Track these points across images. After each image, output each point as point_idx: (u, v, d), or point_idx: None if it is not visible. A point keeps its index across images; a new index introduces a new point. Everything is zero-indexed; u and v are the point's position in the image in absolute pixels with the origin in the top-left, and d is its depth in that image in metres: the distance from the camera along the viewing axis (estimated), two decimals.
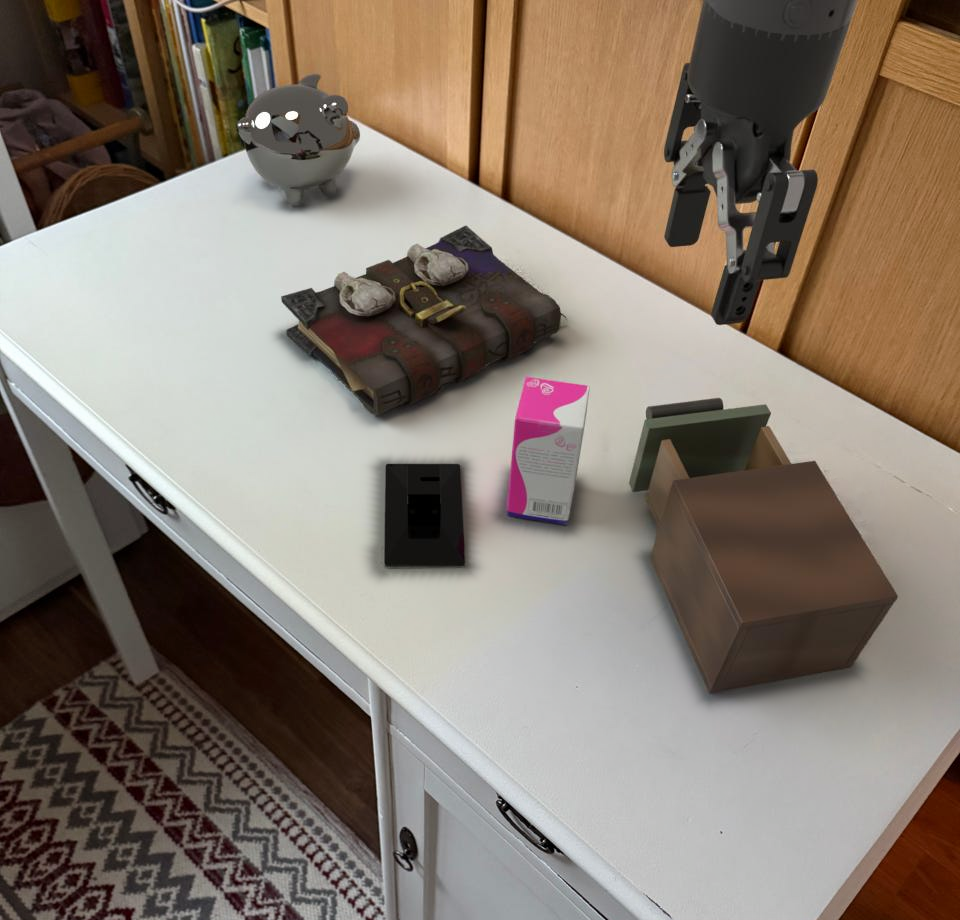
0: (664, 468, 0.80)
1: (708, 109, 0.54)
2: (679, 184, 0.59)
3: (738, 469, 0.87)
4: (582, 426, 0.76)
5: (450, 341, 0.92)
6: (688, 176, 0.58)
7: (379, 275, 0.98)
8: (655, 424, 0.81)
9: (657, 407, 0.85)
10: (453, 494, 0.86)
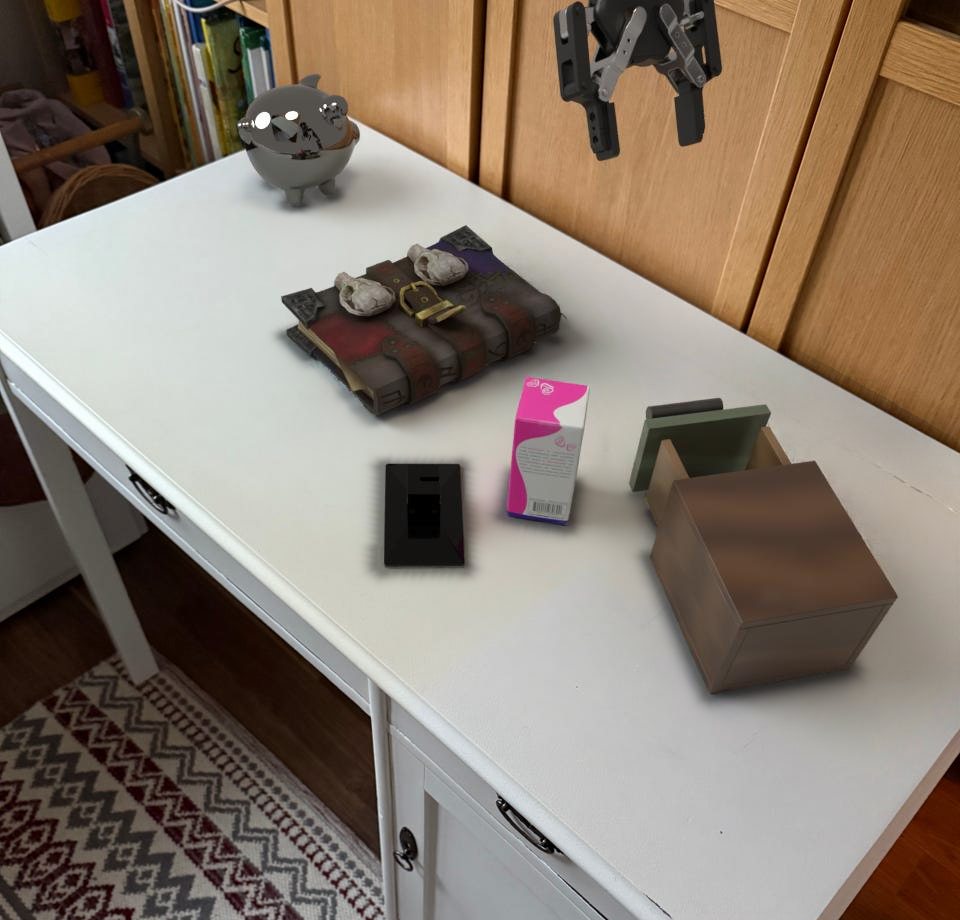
0: (664, 468, 0.80)
1: None
2: (676, 90, 0.76)
3: (738, 469, 0.87)
4: (582, 426, 0.76)
5: (450, 341, 0.92)
6: (669, 78, 0.75)
7: (379, 275, 0.98)
8: (655, 424, 0.81)
9: (657, 407, 0.85)
10: (453, 494, 0.86)
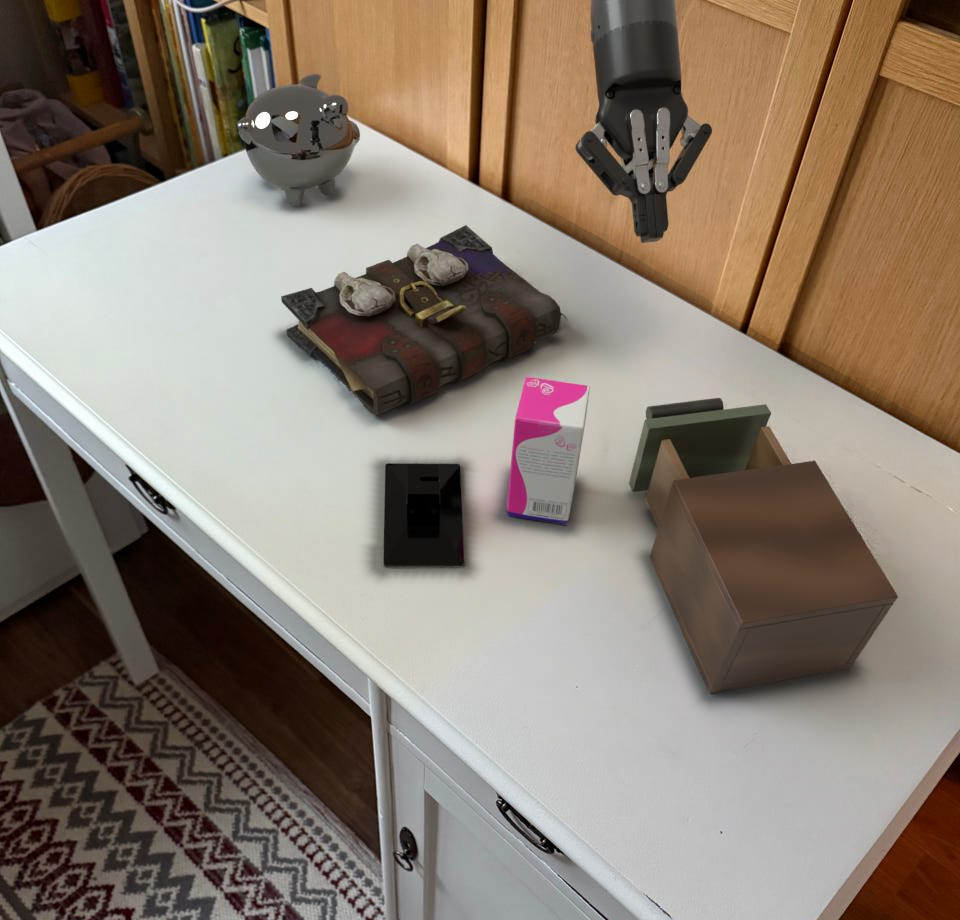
0: (664, 468, 0.80)
1: None
2: None
3: (738, 469, 0.87)
4: (582, 426, 0.76)
5: (450, 341, 0.92)
6: None
7: (379, 275, 0.98)
8: (655, 424, 0.81)
9: (657, 407, 0.85)
10: (453, 494, 0.86)
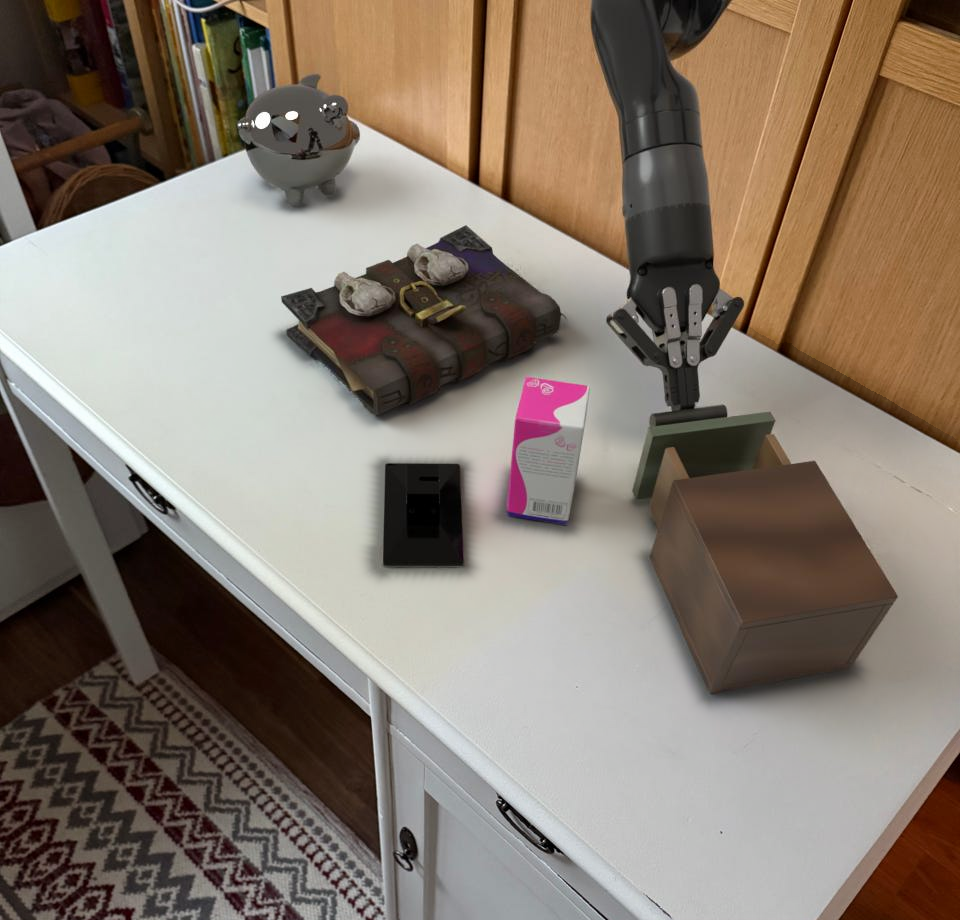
0: (668, 476, 0.80)
1: None
2: None
3: None
4: (582, 426, 0.76)
5: (450, 341, 0.92)
6: None
7: (379, 275, 0.98)
8: (659, 432, 0.80)
9: (661, 414, 0.85)
10: (452, 494, 0.86)
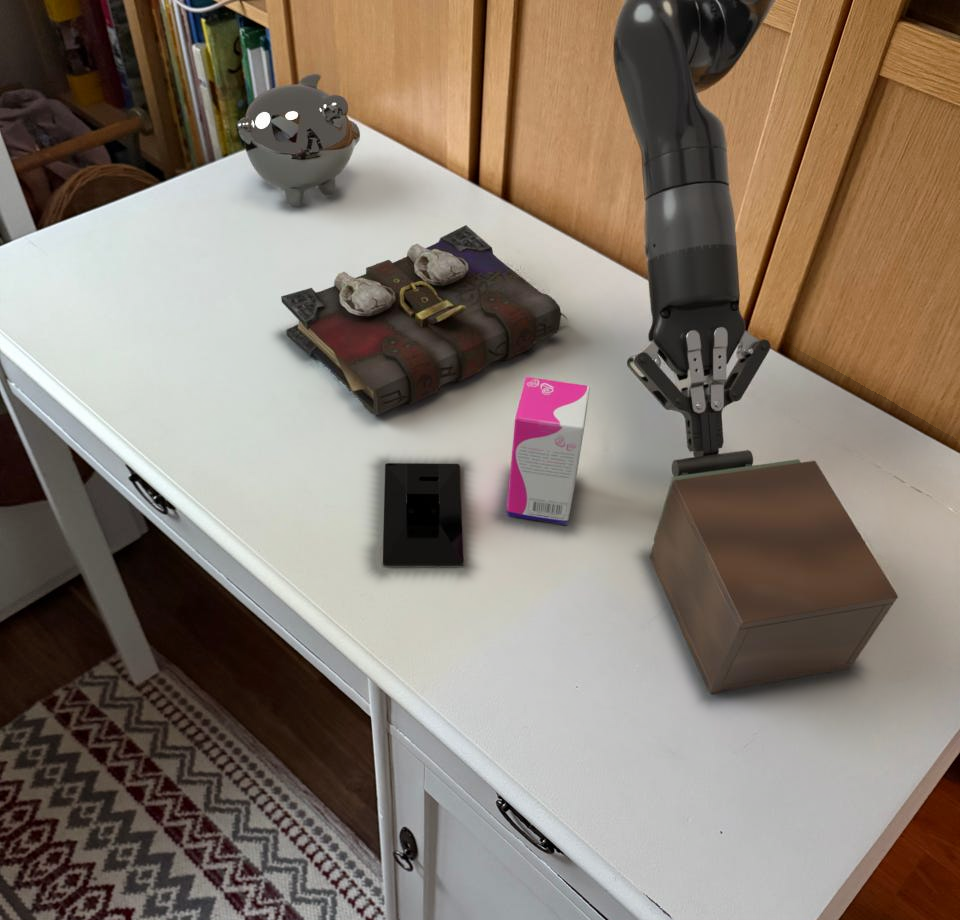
0: None
1: None
2: None
3: None
4: (582, 426, 0.76)
5: (450, 341, 0.92)
6: None
7: (379, 275, 0.98)
8: None
9: (684, 461, 0.81)
10: (452, 494, 0.86)
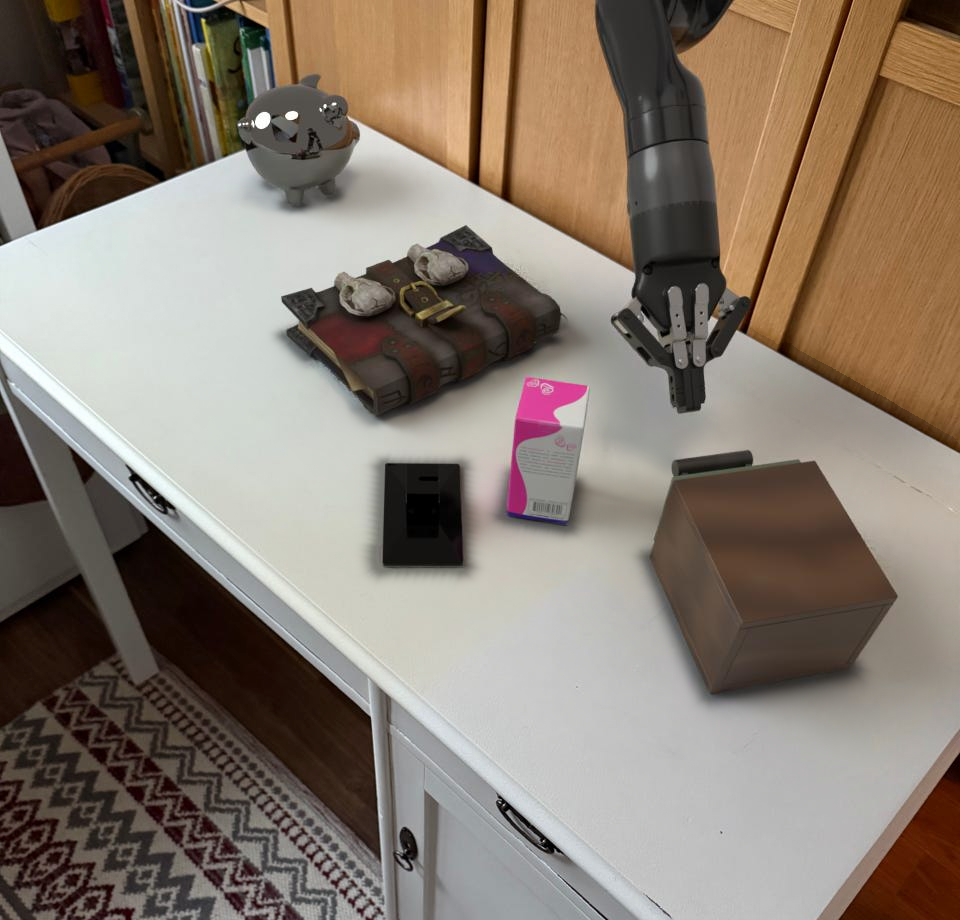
0: None
1: None
2: None
3: None
4: (582, 426, 0.76)
5: (450, 341, 0.92)
6: None
7: (379, 275, 0.98)
8: None
9: (684, 461, 0.81)
10: (452, 494, 0.86)
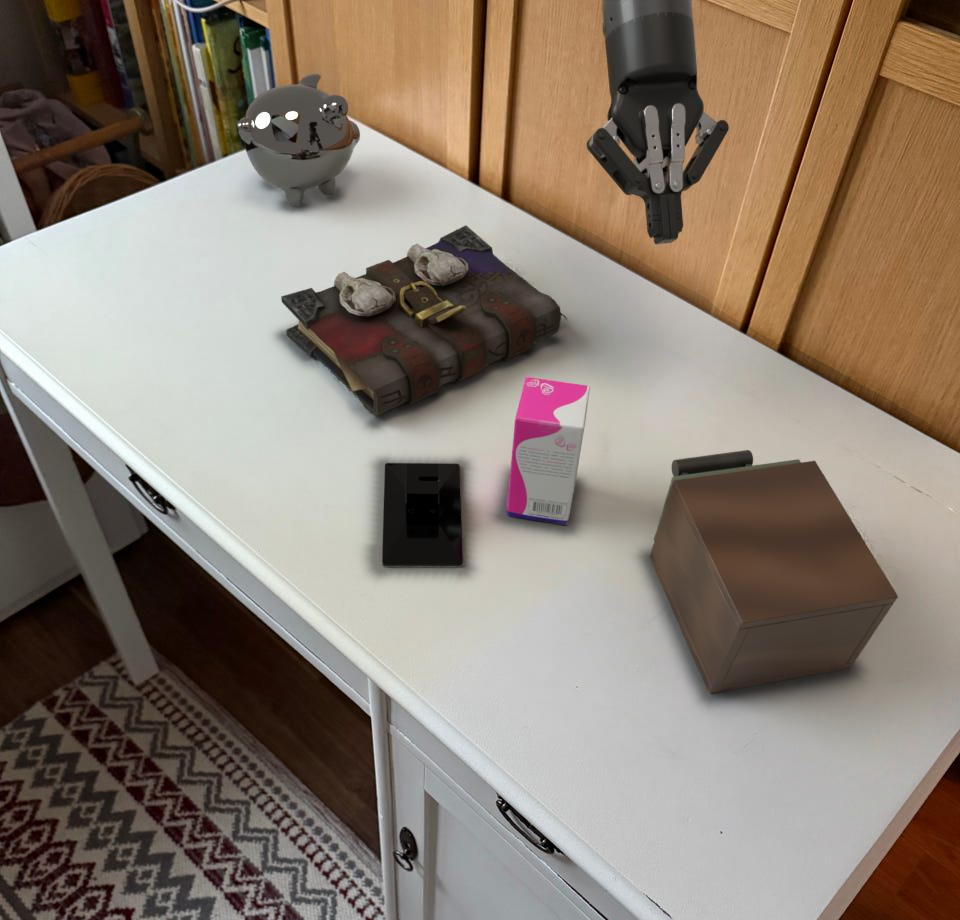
0: None
1: None
2: None
3: None
4: (582, 426, 0.76)
5: (450, 341, 0.92)
6: None
7: (379, 275, 0.98)
8: None
9: (684, 461, 0.81)
10: (452, 494, 0.86)
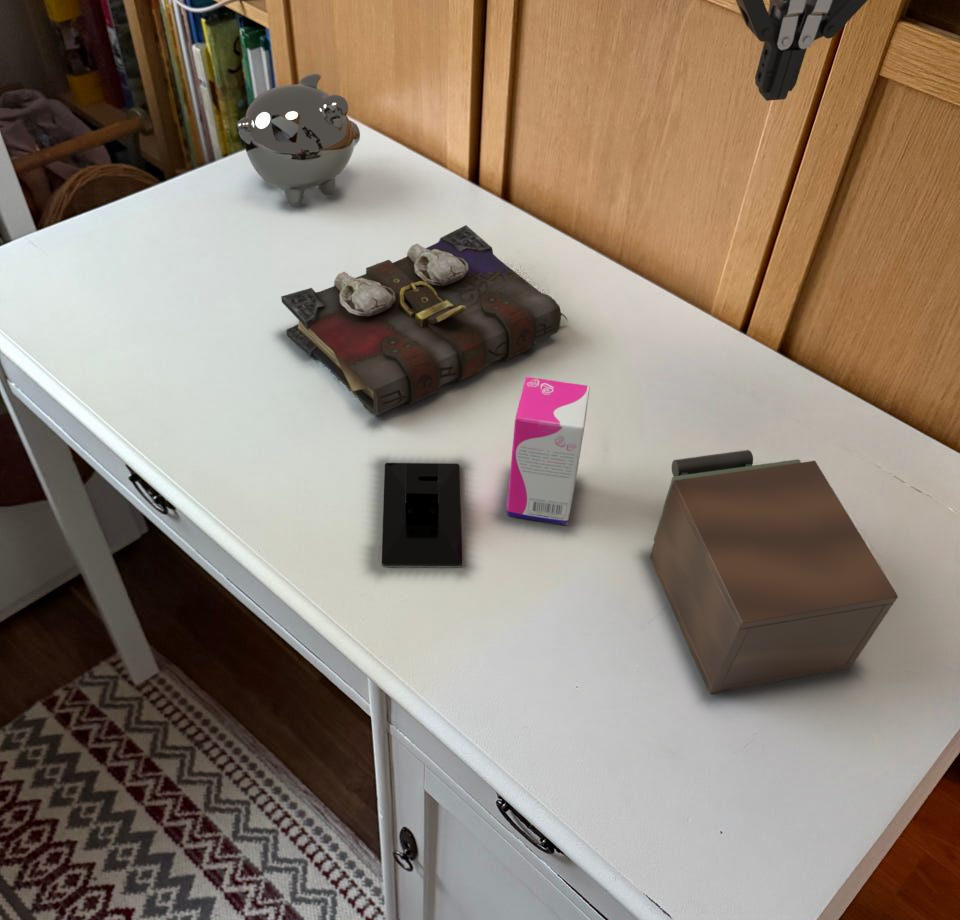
0: None
1: None
2: None
3: None
4: (582, 426, 0.76)
5: (450, 341, 0.92)
6: None
7: (379, 275, 0.98)
8: None
9: (684, 461, 0.81)
10: (452, 494, 0.86)
